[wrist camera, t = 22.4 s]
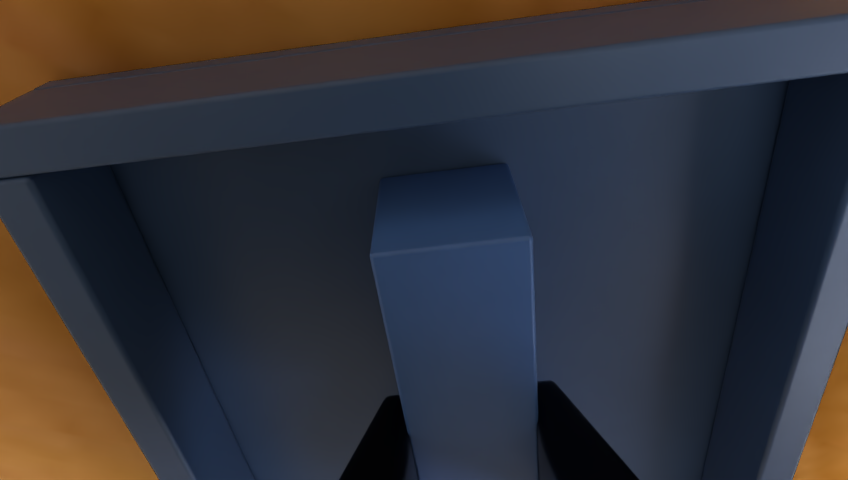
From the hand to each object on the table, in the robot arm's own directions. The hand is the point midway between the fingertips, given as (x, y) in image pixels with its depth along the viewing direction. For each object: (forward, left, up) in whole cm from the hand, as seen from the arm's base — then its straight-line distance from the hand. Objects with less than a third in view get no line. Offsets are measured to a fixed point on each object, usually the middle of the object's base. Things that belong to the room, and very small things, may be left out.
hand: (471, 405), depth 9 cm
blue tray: (-1, 0, -1) cm, 2 cm away
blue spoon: (0, 0, -1) cm, 1 cm away
